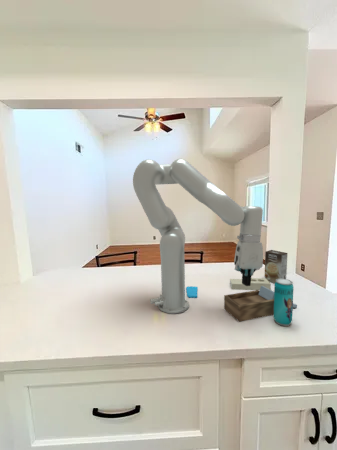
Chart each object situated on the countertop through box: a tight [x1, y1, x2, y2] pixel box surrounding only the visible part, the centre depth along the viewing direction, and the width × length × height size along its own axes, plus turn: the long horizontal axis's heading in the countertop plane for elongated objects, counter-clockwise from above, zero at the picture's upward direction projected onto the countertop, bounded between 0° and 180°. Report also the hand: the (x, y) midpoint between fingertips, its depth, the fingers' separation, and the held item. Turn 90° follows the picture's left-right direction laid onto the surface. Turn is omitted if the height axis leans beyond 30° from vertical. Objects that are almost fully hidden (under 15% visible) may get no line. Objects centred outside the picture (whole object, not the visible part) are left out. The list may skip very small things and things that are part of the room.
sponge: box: [185, 286, 198, 299], centre depth 102 cm, size 2×12×6 cm
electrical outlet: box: [229, 277, 272, 291], centre depth 107 cm, size 7×4×18 cm
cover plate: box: [258, 286, 298, 309], centre depth 87 cm, size 13×7×4 cm, turn 106°
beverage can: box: [273, 278, 294, 327], centre depth 74 cm, size 6×6×15 cm
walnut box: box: [223, 290, 274, 323], centre depth 83 cm, size 16×10×6 cm, turn 107°
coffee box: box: [263, 249, 288, 284], centre depth 113 cm, size 9×6×16 cm
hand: (246, 284), depth 84 cm, fingers closed
